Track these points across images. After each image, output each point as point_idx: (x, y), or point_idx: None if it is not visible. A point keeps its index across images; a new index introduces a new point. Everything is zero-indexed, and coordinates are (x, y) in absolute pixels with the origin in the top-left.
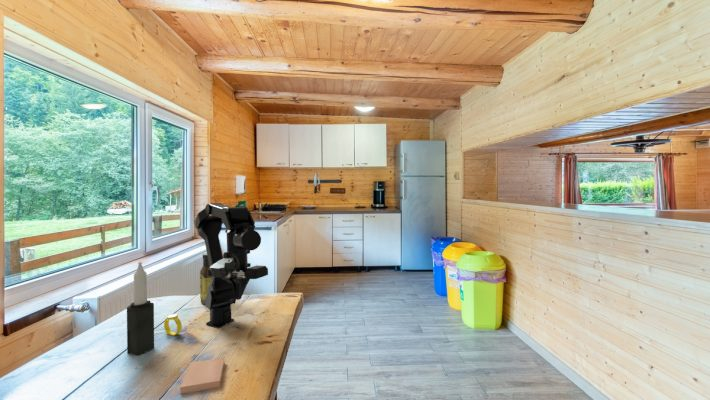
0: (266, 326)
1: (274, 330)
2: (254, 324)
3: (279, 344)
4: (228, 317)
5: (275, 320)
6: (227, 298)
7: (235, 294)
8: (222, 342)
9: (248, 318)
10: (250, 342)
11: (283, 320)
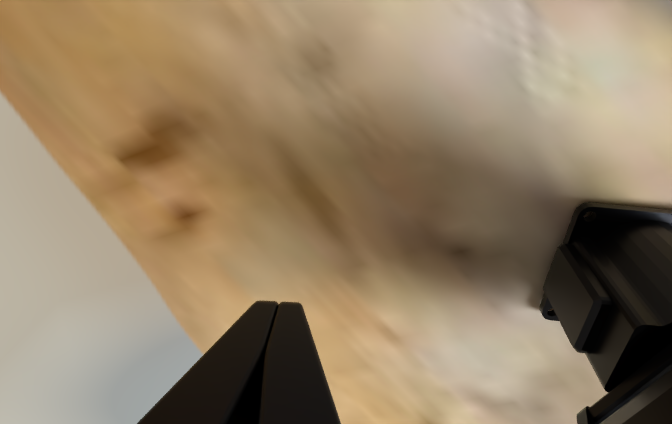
0: None
1: (215, 276)
2: (379, 304)
3: (60, 152)
4: (564, 291)
5: None
6: (636, 414)
7: (285, 360)
8: (414, 40)
9: (469, 353)
10: (231, 112)
11: None
